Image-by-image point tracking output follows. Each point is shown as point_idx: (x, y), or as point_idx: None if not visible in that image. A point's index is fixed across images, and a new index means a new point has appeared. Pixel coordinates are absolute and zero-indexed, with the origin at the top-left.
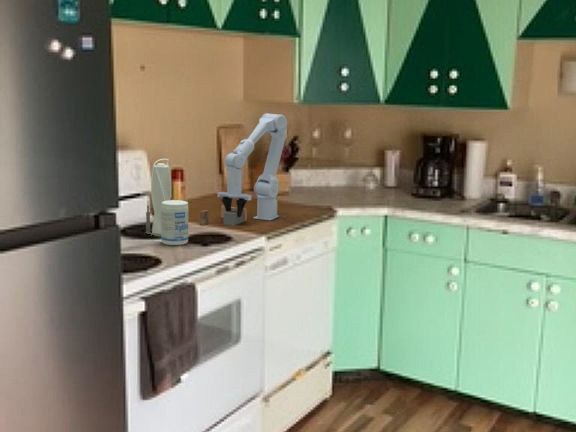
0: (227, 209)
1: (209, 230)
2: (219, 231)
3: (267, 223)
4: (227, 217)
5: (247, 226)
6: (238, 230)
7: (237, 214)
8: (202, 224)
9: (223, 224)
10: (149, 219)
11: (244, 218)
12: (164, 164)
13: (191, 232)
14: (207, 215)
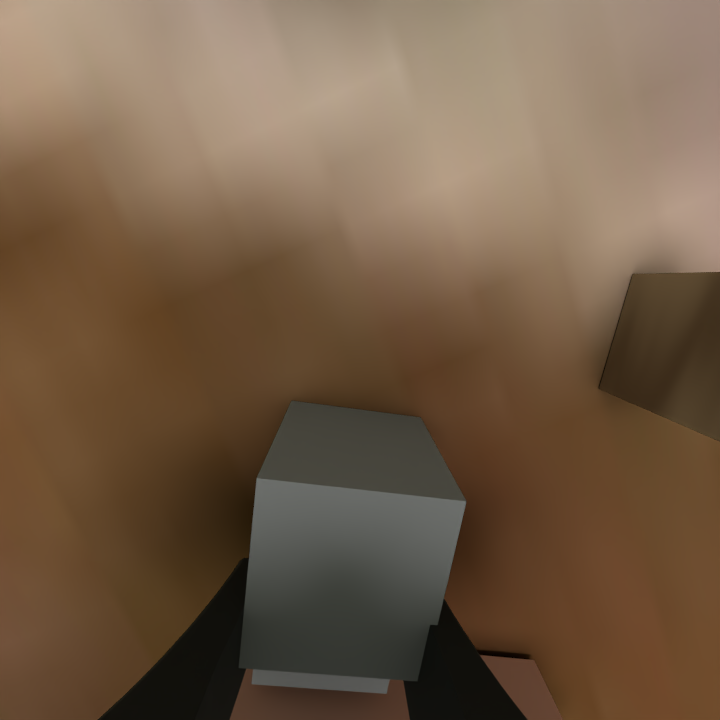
0: (443, 656)
1: (486, 21)
2: (337, 15)
3: (11, 642)
4: (376, 453)
5: (132, 438)
6: (131, 188)
7: None
8: (655, 275)
9: (420, 417)
10: None
11: None
12: None
13: None
14: (704, 403)
